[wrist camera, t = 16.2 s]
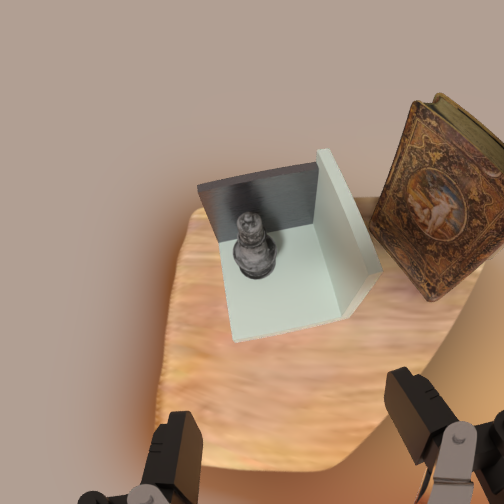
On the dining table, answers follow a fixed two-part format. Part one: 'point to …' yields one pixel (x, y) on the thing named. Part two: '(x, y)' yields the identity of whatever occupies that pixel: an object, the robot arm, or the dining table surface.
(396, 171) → the book
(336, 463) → the dining table surface
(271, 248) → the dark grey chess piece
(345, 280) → the shelf
